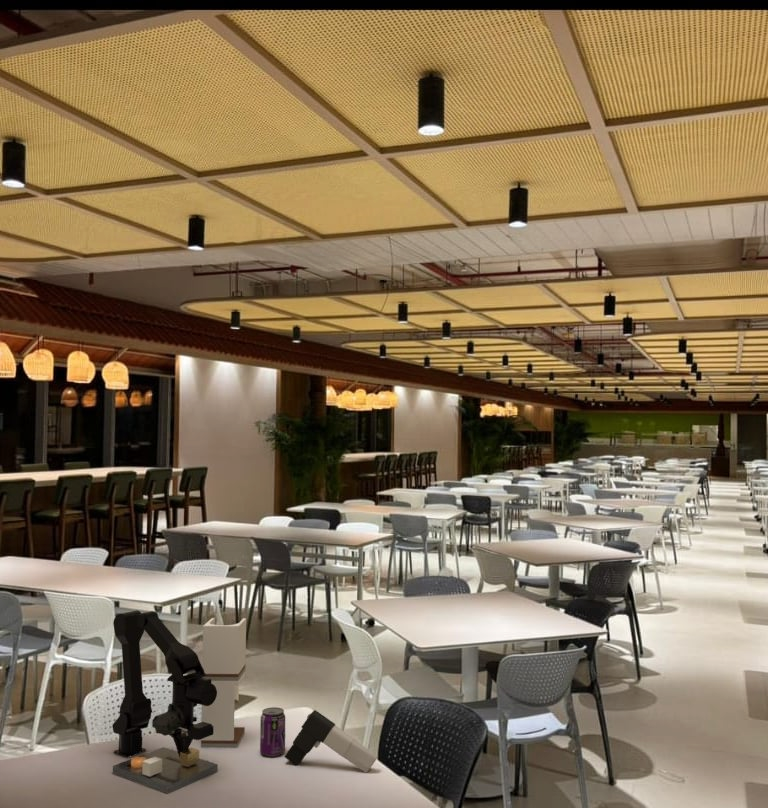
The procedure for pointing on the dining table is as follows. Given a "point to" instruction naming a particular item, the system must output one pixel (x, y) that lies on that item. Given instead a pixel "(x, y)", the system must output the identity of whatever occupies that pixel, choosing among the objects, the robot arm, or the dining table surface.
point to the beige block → (152, 766)
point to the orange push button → (137, 762)
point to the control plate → (166, 771)
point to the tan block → (189, 757)
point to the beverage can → (272, 731)
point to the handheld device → (329, 742)
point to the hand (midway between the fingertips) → (182, 757)
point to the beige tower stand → (223, 680)
